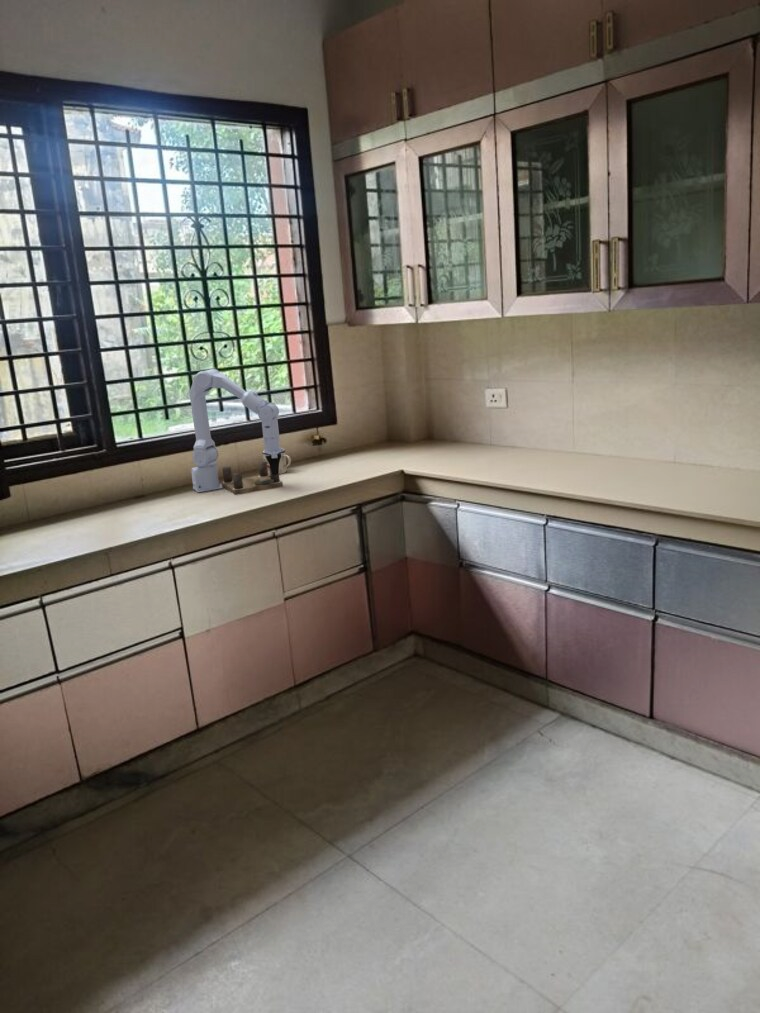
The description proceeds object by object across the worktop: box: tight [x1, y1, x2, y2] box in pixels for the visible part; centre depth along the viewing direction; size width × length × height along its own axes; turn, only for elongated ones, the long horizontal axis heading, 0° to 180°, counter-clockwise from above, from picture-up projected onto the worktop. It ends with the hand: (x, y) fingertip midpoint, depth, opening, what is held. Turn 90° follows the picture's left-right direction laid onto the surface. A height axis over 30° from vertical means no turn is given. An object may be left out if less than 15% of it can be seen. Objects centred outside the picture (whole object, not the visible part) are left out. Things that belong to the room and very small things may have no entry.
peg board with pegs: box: [221, 460, 284, 495], centre depth 288 cm, size 18×18×7 cm
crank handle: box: [254, 466, 281, 485], centre depth 283 cm, size 10×3×6 cm, turn 119°
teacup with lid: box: [262, 448, 292, 475], centre depth 308 cm, size 12×9×12 cm
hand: (275, 474), depth 282 cm, fingers closed, pressing on crank handle
